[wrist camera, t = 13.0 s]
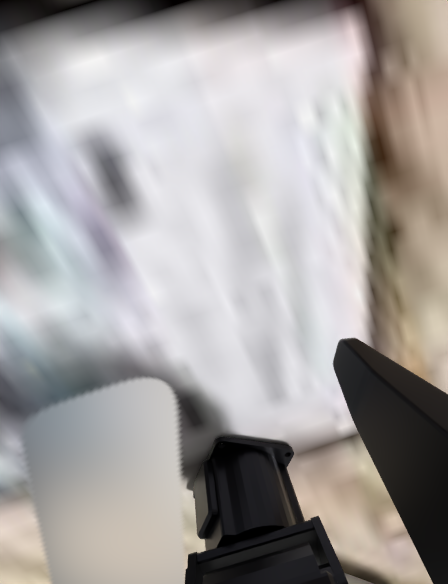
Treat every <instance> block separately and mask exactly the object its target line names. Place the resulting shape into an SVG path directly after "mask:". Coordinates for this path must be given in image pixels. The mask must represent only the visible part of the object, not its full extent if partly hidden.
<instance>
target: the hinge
mask: <svg viewBox="0 0 448 584" xmlns="http://www.w3.org/2000/svg"><path fill="white" fill-rule="evenodd" d="M344 574H345V576H346V579H347V581H348V584H374V583H371V582H368V581H365V580H363V579H360V578H357V577H354V576H352V575H349V574H346V573H344Z"/></svg>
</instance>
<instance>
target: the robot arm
mask: <svg viewBox="0 0 448 584" xmlns="http://www.w3.org/2000/svg"><path fill="white" fill-rule="evenodd" d="M333 366H334V370H335V373H336V376H337V379H338V381H339V384H340V387H341V389H342V392H343V395H344V398H345V400H346V403H347V406H348V409H349V411H350V414H351V416H352V419H353V421H354V423H355V425H356V428H357V430H358V432H359V434H360V436H361V438H362V440H363V442H364V444H365V446H366V448H367V450H368V452H369V454H370V456H371V458H372V460H373V462H374V464H375V466H376V468H377V470H378V472H379V474H380V476H381V478H382V480H383V482H384V485H385V487H386V489H387V491H388V493H389V495H390V497H391V499H392V501H393V503H394V505H395V507H396V509H397V511H398V513H399V515H400V517H401V519H402V521H403V523H404V525H405V527H406V529H407V531H408V533H409V535H410V537H411V539H412V541H413V543H414V545H415V547H416V549H417V551H418V554H419V556H420V558H421V560H422V562H423V564H424V566H425V568H426V570H427V572H428V574H429V576H430V578H431V580H432V582H433V584H448V394H446V393H445V392H443V391H441V390H440V389H438V388H437V387H435V386H433V385H432V384H430V383H428V382H427V381H425V380H424V379H422V378H420V377H419V376H417V375H415V374H414V373H412V372H410V371H409V370H407V369H406V368H404V367H402V366H401V365H399V364H397V363H396V362H394V361H392V360H391V359H389V358H388V357H386V356H384V355H383V354H381V353H379V352H378V351H376V350H375V349H373V348H371V347H370V346H368V345H366V344H365V343H363V342H361V341H360V340H358V339H356V338H347V339H341V340H340V341H339V343H338V346H337V349H336V353H335V356H334V360H333ZM221 443H223V444H221ZM293 455H294V452H293V449H292V447H291V446H286V445H279V444H272V443H265V442H257V441H250V440H243V439H236V438H229V437H218V438H217V439H216V440H215V441H214V444H213V446H212V448H211V451H210V453H209V455H208V458H207V460H205V461H204V462H203V463H202V465H201V468H200V470H199V472H198V475H197V477H196V479H195V482H194V490H193V497H194V498H195V509H196V523H197V535H198V537H199V538H200V539H205V547H206V551H204V552H201V553H197V552H195V553H191V554H188V568H187V569H186V574H185V584H348V581H347V579H346V576H345V574H344V572H343V569H342V567H341V565H340V563H339V560H338V558H337V556H336V554H335V551H334V549H333V547H332V545H331V543H330V540H329V538H328V536H327V534H326V531H325V529H324V527H323V525H322V522H321V520H320V518H319V516H316V517H313V518H311V520H308V521H305V520H304V517H303V514H302V511H301V508H300V505H299V503H298V500H297V497H296V494H295V491H294V488H293V485H292V483H291V480H290V477H289V474H288V471H287V466H288V464H289V463H290V461H291V459H292V457H293Z"/></svg>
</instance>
